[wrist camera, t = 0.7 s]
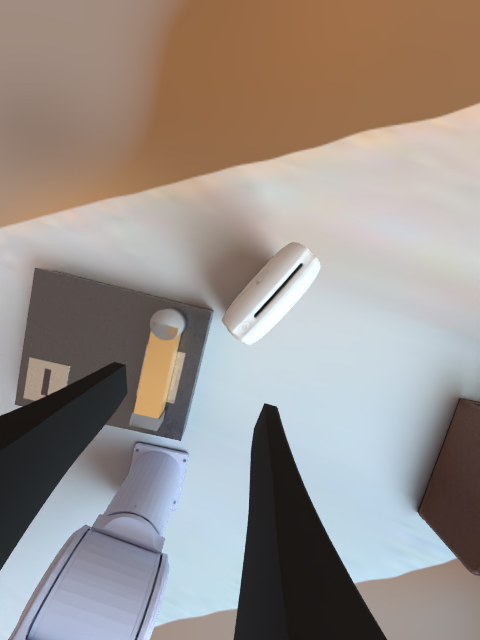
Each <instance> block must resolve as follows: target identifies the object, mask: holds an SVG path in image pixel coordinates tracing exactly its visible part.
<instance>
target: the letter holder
mask: <svg viewBox="0 0 480 640" xmlns="http://www.w3.org/2000/svg"><path fill="white" fill-rule="evenodd" d="M418 513H419V515H420V516H421V517H422V519H423V520H425V521H426V523H427V524H428V525H429V526H430V527H431V528H432V529H433V531H434V532H435V533H436V534H437V535H438V536H439V537H440V539H441V540H442V541H443V542H444V543H445V544H446V545H447V547H448V548H449V549H450V550H451V551H452V552H453V553H454V554H455V556H456V557H457V558H458V559H459V560H460V561H461V562H462V564H463V565H464V566H465V567H466V568H467V569H468V570H469V571H470V572H471V573H473V574H474V575H477V576H480V403H479V402H475V401H470V400H466V399H460V401H459V404H458V406H457V408H456V411H455V414H454V417H453V420H452V422H451V425H450V427H449V430H448V433H447V435H446V438H445V441H444V443H443V446H442V449H441V452H440V454H439V457H438V460H437V463H436V465H435V468H434V471H433V473H432V476H431V479H430V481H429V484H428V488H427V490H426V492H425V495H424V498H423V501H422V503H421V506H420V509H419V511H418Z"/></svg>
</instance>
